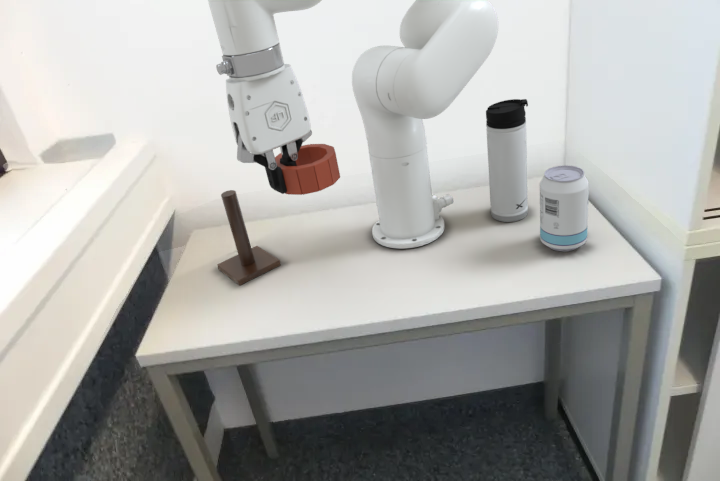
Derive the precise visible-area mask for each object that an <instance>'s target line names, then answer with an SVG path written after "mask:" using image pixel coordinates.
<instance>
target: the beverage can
mask: <svg viewBox="0 0 720 481" xmlns="http://www.w3.org/2000/svg"><path fill="white" fill-rule="evenodd" d="M543 174H544V175H543V177H542V179H541V180H540V182H539V233H540V234H539V237H540V238H539V239H540V242H541V243H542V244H543V245H545V246H546V247H548V248H549V249H551V250H553V251H555V252H571V251H575V250H576V249H578V248H579V247H582V246H583V245H585V244H586V242H587V241H588V230H589V229H588V227H589V226H588V225H589V224H588V223H589V196H590V194H589V191H590V182H589V180H588V178H587V177H586V175H585V170H583V168H581V167H578V166H575V165H568V164H567V165H555V166H553V167H550V168H548V169H546V170H545V171H544V173H543Z"/></svg>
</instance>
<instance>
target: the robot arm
mask: <svg viewBox="0 0 720 481" xmlns="http://www.w3.org/2000/svg"><path fill="white" fill-rule="evenodd" d="M322 1H323V0H207V2H208V5H209V9H210V13H211V16H212V20H213V24H214V27H215V32H216V35H217V38H218V42H219V45H220V49H221V52H222V55H221V59H222V61H221V62H220V63H218V64H216V67H215V68H216V71H217V73H218V74H219V75H220V76H221V75H226V76H228V78H227V79H225V91H226V92H225V93H226V94H225V95H226V102H227V108H228V116H229V119H230V125H231V129H232V133H233V137H234V140H235V143H236V145H237V150H236V160H237V161H238V162H240V163H243V164H254V163H255V164H258V165H260V166H262V167H264V169H265V173H266V177H267V180H268V184H269V186H270V188H271V189H272V190H273V191H275V192H277V193H280V194H282V195H284V194H285V193H286V191H287V188H286V184H285V180H284V176H283V172H282V169H281V168H280V167H278V166H277V163H276V160H275V157H276V156H275V153H274V150H275V149H278V148H279V150H280V153H281V154H282V158H280V164H283V165H285V166H297V164H296V160H297V159H298V152H299V150H300V148H301V146H303V143H305V142H306V141H307V140H308V139H309V138H310V137H311V136H312V135H313V131H312V126H311V119H310V115H309V112H308V108H307V105H306V101H305V98H304V95H303V92H302V89H301V87H300V86H301V85H300V84H299V81H298V79H297V76H296V74H295V71H294V70H293V67H292V65H291V64H289V63H285V61H284V57H283V52H282V48H281V44H280V39H279V34H278V30H277V25H276V22H275V21H276V20H275V18H274V17H275V16H274V15H275V14H280V13H288V12H296V11H297V12H299V11H304V10H308V9H312V8H313V7H315V6H317V5H318V4H320V3H321V2H322ZM498 34H499V17H498V13H497V11H496V9H495V6H494V5H493V4H492V3H491V2H490V1H489V0H415V1H413V3H412V4H411V5H410V7H409V8H408V9H407V11H406V12H405V14H404V16H403V17H402V19H401V22H400V25H399V39H400V42H401V44H402V45H403V46H396V45H377V46H373V47H370V48H368V49H366V50H365V51H363V52H362V53H361V54H360V55H359V56H358V58H357V59H356V61H355V63H354V65H353V69H352V73H351V86H352V91H353V95H354V99H355V102H356V104H357V107H358V110H359V113H360V116H361V120H362V123H363V128H364V132H365V137H366V138H365V139H366V143H367V149H368V157H369V163H370V169H371V170H370V171H371V176H372V182H373V190H374V195H375V201H376V207H377V208H376V209H377V215H378V220H376V222H375V223H374V224H373V226H372V228H371V233H372V238H373V240H374V241H375V242H376V243H377V244H379V245H381V246H383V247H385V248H389V249H390V248H391V249H401V250H402V249H404V250H405V249H413V248H417V247H419V248H420V247H422V246H426V245H428V244H430V243H432V242H434V241H436V240H437V239H438V238H440V237H441V236H442V234H443V233H444V231H445V228H446V227H445V220H444V218H443V217H442V216H441V215H440V213H441V212H442V210H443V209H444V208H446V207H449V206H450V205H452V204H454V201H455V200H454V197H453V196H452V195H451V194H450V193H447V194H445V195H442V196H441V197H439V198H438V196H437V195H436V194H433V190H432V181H431V170H430V162H429V154H428V153H429V152H428V142H427V134H426V133H427V132H426V128H425V125H424V121H423V120H428V119H432V118H436V117H437V116H439V115H441V114H442V113H443V112H445V110H447V109H448V107H450V106H451V104H453V102H454V101H455V100H456V99H457V98H458V96H459V95H460V94H461V92H462V91H463V90H464V89H465V88H466V86H468V84H469V82H471V80H472V79H473V77H474V76H475V74H477V73H478V71H479V70H480V69H481V67H482V66H483V65H484V64H485V62H486V60H487V59H488V58H489V56H490V55H491V53H492V51H493V49H494V47H495V45H496V41H497V37H498Z"/></svg>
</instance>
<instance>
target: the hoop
mask: <svg viewBox="0 0 720 481" xmlns="http://www.w3.org/2000/svg"><path fill="white" fill-rule="evenodd" d="M280 158H282V154H281V152H279V153H278V154H277V155H276V156H275V160H276V163H277V166H278V167H280V168H281V169H282V172H283V176H284V180H285V184H286V188H287V191H286V193H284V194H286V195H296V196H302V195H303V196H304V195H309V194H313V193H318V192H321V191H323V190H325V189H328V188H329V187H331V186H333V185H335V184H336V182H338V180H340V178H341V173H340V168H339V162H338V158H337V153H336V150H335V147H334V146H332V145H329V144H326V143H308V144H304V145H303V144H302V145H301V148H300V150H299V152H298V159H297V160H296V164H297V166H285V165H283V164H280Z"/></svg>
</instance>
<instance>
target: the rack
mask: <svg viewBox="0 0 720 481" xmlns="http://www.w3.org/2000/svg"><path fill="white" fill-rule="evenodd" d="M220 197H221V200H222V204H223V207H224V210H225V214H226V218H227V220H228V225H229V228H230V231H231V234H232V237H233V238H232V239H233V241H234V245H235V248H236V251H237V254H236V255H234V256H232V257H230V258H227V259H225V260H224V261H223V260H222V261H221V262H219V263H217V268H218V270H219V271H220V272H221V273H223V274H224V275H226V277H227V278H229V279H231V281H233V282H234V283H236V285H238V286H242V285H243V284H246V283H248V282H250V281H251V280H253V279H256V278H258V277H260V276H261V275H264V274H266V273H267V272H270V271H271V270H274V269H275V268H278V267H280V266H281V265H282V264H281V260H280V259H279V258H278V257H276V256H275V255H273V254H271V253H270V252H268V251H266V250H265V249H263V248H262V247H260V246H259V245H256V246H254V247H252V245H251V244H252V243H251V240H250V238H249V234H248V231H247V227H246V223H245V220H244V216H243V212H242V209H241V205H240V201H239V198H238V194H237V191H236V190H234V189H233V190H232V189H230V190H226V191H223V192H222V193H221V194H220Z"/></svg>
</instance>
